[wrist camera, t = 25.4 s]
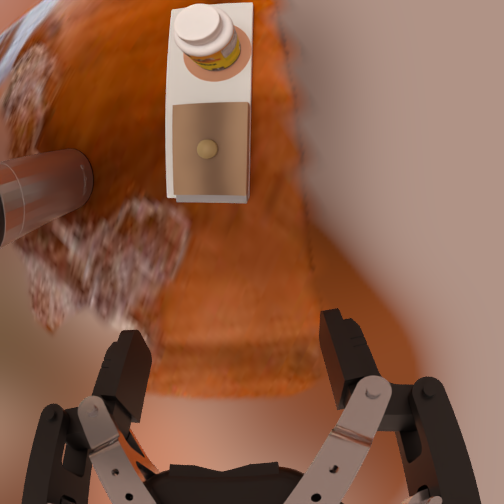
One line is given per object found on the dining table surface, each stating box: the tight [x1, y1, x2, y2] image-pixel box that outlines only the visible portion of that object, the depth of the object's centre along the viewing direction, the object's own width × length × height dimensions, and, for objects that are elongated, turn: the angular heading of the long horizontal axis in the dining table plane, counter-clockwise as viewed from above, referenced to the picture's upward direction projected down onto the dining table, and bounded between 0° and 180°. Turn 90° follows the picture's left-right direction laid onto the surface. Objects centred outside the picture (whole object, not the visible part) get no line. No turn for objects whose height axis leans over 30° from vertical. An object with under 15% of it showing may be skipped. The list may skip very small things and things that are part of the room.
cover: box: [172, 102, 250, 196], centre depth 30 cm, size 8×10×4 cm
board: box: [165, 3, 254, 203], centre depth 29 cm, size 10×25×4 cm, turn 179°
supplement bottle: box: [174, 4, 241, 71], centre depth 22 cm, size 6×6×10 cm
